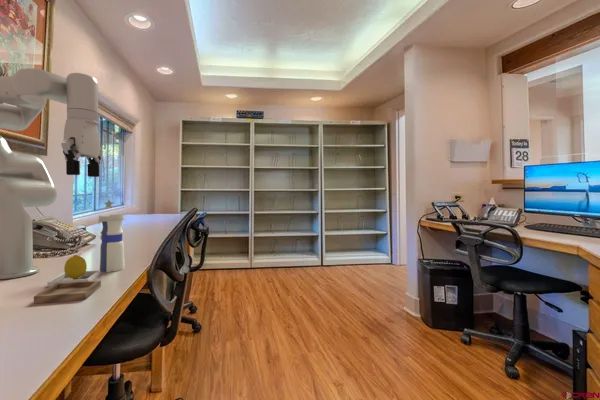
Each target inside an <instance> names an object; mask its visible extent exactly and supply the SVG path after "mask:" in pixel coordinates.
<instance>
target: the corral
mask: <svg viewBox="0 0 600 400" xmlns="http://www.w3.org/2000/svg"><path fill="white" fill-rule="evenodd" d="M88 276H89V277H88ZM100 276H101V271H100V269H98V270H86V272H85V273H84V275H83V276H82V277H87V278H83V279H82V278H78V279H77V280H74V279H64V278H68V277H67V276H66V274H65V271H64V272H62V273H61V274H59V275H57V276H56V277H54V278H51V279H50V280H48V281H46V282H47V283H46V284H47V286H46V287H48V288H49V287H51V286H52V285H54V284H56V283H66V282H81V281H95V279H97V278H98V277H100Z"/></svg>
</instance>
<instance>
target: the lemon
mask: <svg viewBox="0 0 600 400" xmlns="http://www.w3.org/2000/svg"><path fill="white" fill-rule="evenodd" d="M65 261H66V262H65V264H64V267H63V270H64V272H65V274H66V276H67V277H66V278H69V279H71V280H77V279H80V278H82V277H84V276H83V275H84V273H85V272H86V271H87V269H88V268H87V261H86V260H85V258H84V257H83V256H80V255H77V254H73V256H70V257H69V258H68V259H67V260H65Z"/></svg>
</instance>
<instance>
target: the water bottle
mask: <svg viewBox="0 0 600 400" xmlns="http://www.w3.org/2000/svg"><path fill="white" fill-rule="evenodd" d="M114 203H115V202H114V201H111V200H110V199H108V200H107V201H105V202H103V204H104V205H105V209H106V208H111V209H112V207H113V206H112V205H113V204H114ZM125 220H126V218H125V215H123V214H109V215H108V216H103V215H99V216H98V225H101V224H102V229H101V231H100V237H99V238H100V241H101V243H100V246H99V248H100V249H99V270H100V273H101V272H102V273H111V272H110V271H114V272H118V271H123V270H124V269H125V268H126V265H125V248H124V247H125V246H124V245H125V244H124V240H123V234H124V230H123V227H122V226H123V225H122V224H123V221H125ZM122 269H123V270H122Z"/></svg>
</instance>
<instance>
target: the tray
mask: <svg viewBox="0 0 600 400" xmlns="http://www.w3.org/2000/svg"><path fill="white" fill-rule="evenodd" d="M101 286H102V280H100V279H99V280H98V279H97V280H93V281H81V282H66V283H56V284H54V285H52V286H49V287H48V288H46V289H44V290H43V291H40V292H39V293H37V294H36V295H34V296H33V304H35V305H36V304H37V305H38V304H48V303H62V302H73V301H85V300H87V299H88V298H89V297H90V296H92V295H93V294H94V293H96V291H97V290H98V289H100V288H101Z"/></svg>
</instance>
